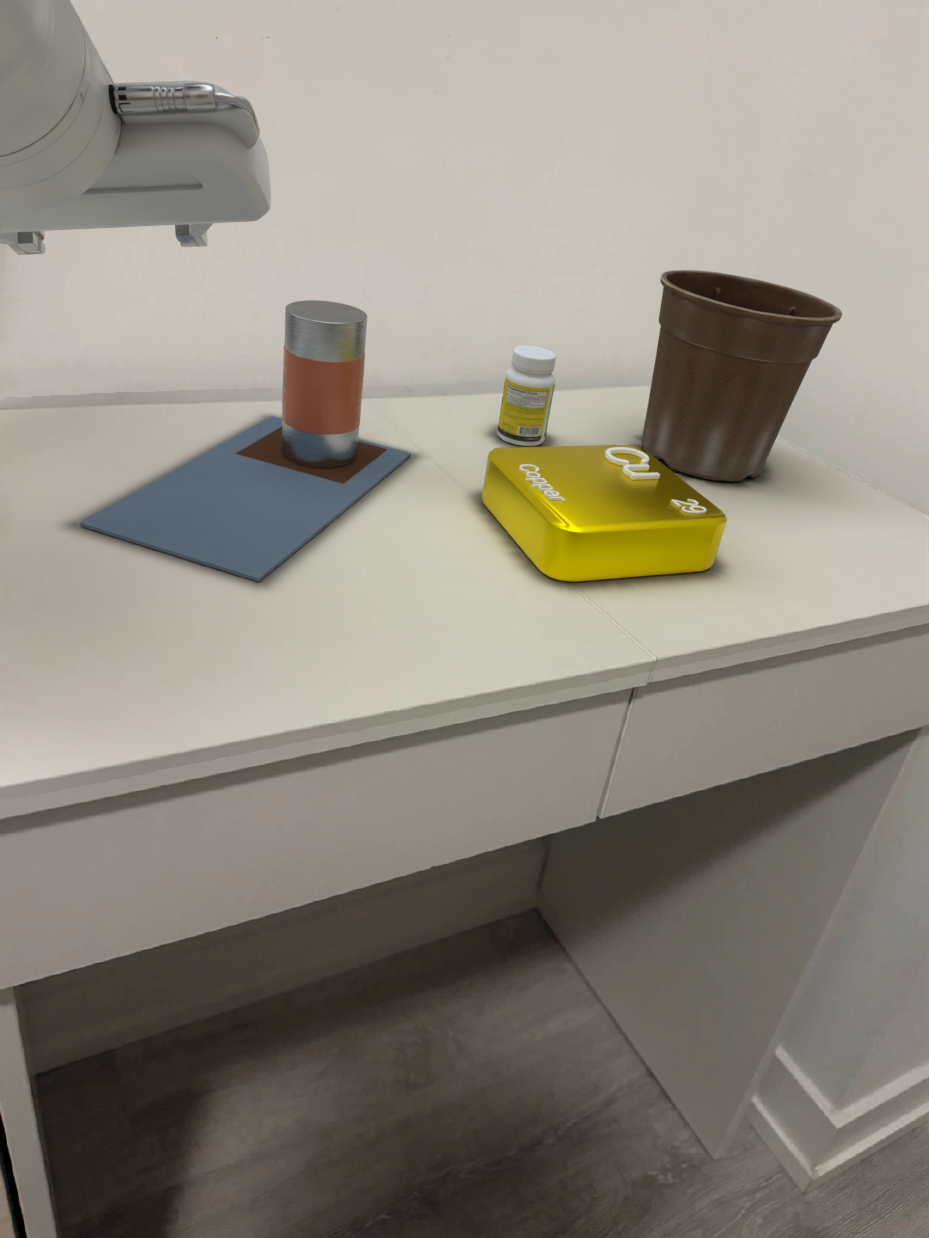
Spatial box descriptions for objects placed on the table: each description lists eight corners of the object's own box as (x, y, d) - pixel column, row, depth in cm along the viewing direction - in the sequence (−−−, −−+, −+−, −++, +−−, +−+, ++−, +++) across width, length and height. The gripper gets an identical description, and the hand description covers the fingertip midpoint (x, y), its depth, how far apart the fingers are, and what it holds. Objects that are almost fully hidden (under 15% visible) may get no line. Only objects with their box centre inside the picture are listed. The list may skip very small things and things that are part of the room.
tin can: (265, 454, 76) (268, 309, 70) (306, 433, 82) (312, 295, 75) (333, 475, 75) (342, 328, 68) (370, 452, 80) (382, 313, 73)
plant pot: (756, 437, 98) (806, 283, 90) (808, 501, 84) (872, 327, 76) (609, 419, 97) (645, 260, 88) (637, 482, 83) (684, 301, 74)
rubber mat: (80, 526, 63) (79, 522, 63) (271, 418, 84) (271, 415, 84) (259, 582, 60) (259, 578, 60) (410, 456, 81) (411, 453, 81)
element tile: (473, 494, 76) (481, 440, 73) (627, 488, 81) (640, 437, 79) (549, 586, 64) (562, 525, 62) (723, 571, 70) (741, 515, 67)
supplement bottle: (513, 425, 91) (527, 341, 87) (553, 440, 89) (570, 355, 85) (486, 435, 88) (500, 349, 83) (527, 451, 86) (543, 363, 81)
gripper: (242, 18, 41) (288, 178, 54) (-233, 34, 39) (-64, 193, 53) (251, 157, 40) (294, 282, 54) (-227, 177, 39) (-58, 299, 53)
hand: (114, 238), depth 54 cm, fingers open, 8 cm apart
